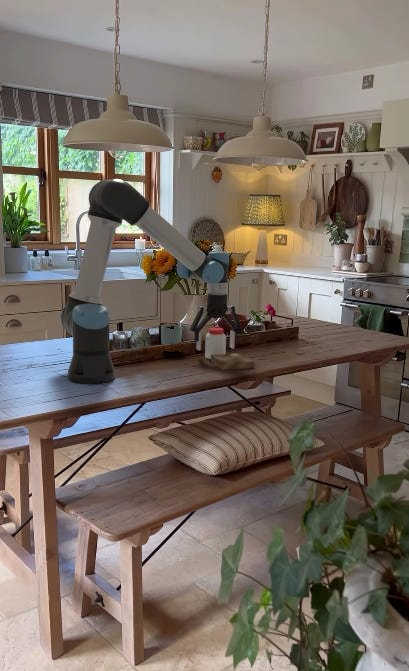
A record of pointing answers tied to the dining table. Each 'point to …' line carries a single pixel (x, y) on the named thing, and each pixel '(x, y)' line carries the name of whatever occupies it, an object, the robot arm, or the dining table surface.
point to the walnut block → (232, 361)
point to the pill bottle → (215, 342)
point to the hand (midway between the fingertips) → (215, 348)
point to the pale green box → (170, 334)
